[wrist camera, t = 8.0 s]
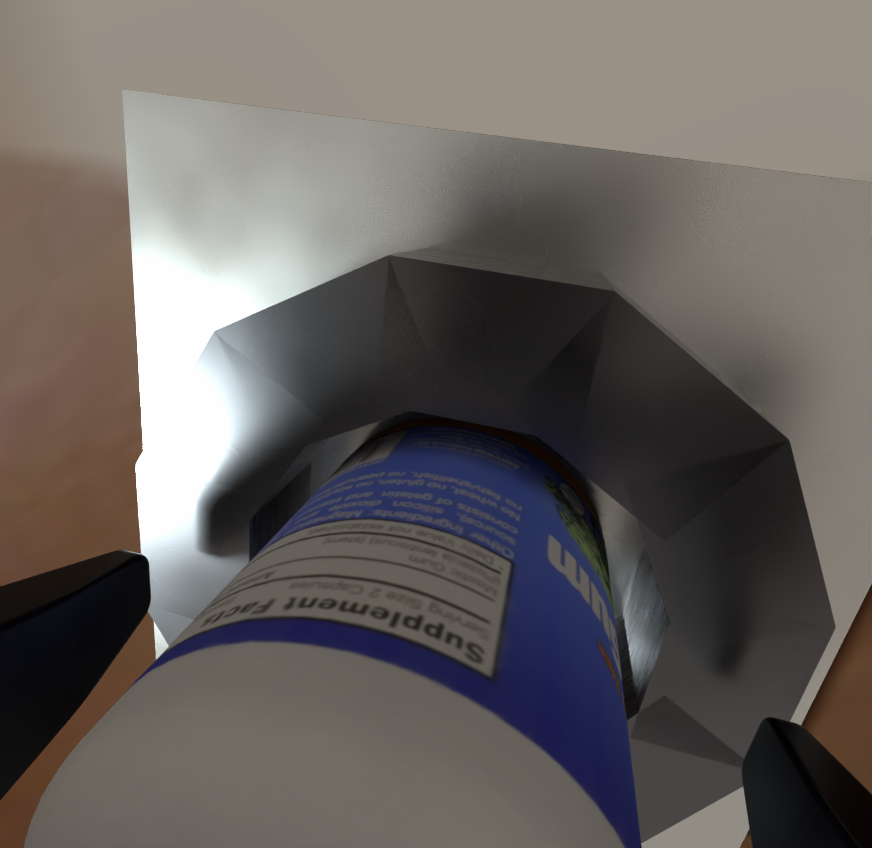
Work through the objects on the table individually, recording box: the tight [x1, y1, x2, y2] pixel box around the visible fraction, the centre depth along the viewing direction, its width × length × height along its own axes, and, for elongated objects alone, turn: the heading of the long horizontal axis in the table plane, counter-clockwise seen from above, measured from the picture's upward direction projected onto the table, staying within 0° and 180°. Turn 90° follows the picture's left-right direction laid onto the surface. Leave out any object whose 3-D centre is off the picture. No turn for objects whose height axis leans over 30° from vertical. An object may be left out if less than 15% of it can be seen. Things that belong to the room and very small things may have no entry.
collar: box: [122, 90, 872, 848], centre depth 10 cm, size 14×14×3 cm
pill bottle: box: [23, 415, 642, 848], centre depth 7 cm, size 5×5×10 cm
